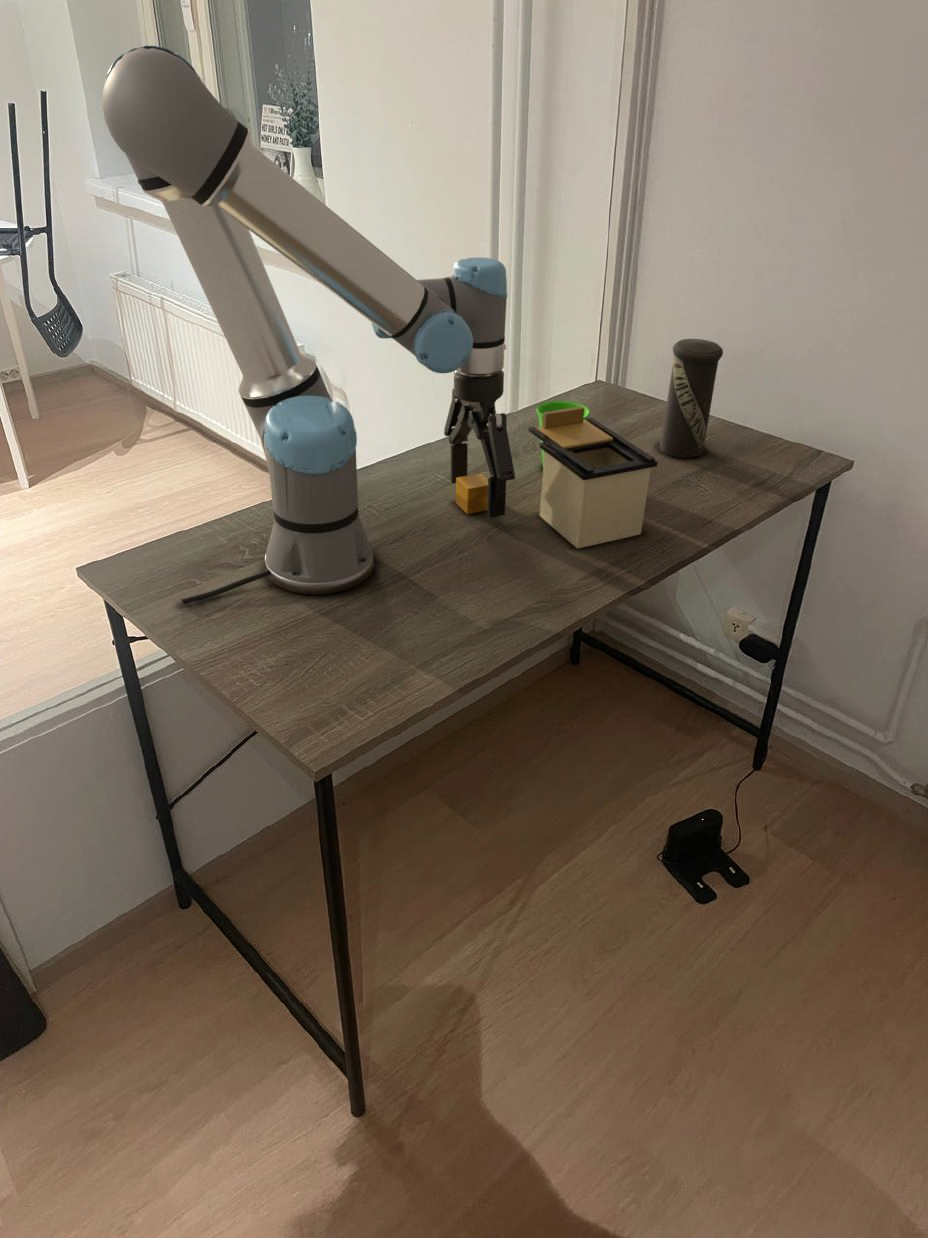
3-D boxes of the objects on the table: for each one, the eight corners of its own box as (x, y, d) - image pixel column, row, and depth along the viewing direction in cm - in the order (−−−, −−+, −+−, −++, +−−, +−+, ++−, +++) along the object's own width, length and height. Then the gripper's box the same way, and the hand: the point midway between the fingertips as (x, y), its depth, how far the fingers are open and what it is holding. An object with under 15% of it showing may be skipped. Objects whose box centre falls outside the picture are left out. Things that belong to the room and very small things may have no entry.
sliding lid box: (575, 551, 136) (584, 471, 129) (520, 502, 149) (525, 427, 142) (646, 535, 141) (658, 457, 134) (586, 489, 154) (594, 416, 147)
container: (654, 455, 167) (671, 346, 156) (660, 437, 174) (676, 332, 163) (702, 462, 165) (722, 352, 154) (706, 443, 172) (726, 337, 161)
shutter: (562, 449, 137) (564, 431, 135) (536, 429, 143) (537, 412, 141) (613, 440, 140) (615, 423, 139) (584, 421, 146) (586, 405, 145)
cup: (585, 481, 157) (592, 420, 151) (533, 479, 157) (537, 419, 151) (581, 459, 164) (587, 401, 158) (531, 458, 164) (535, 399, 158)
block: (467, 514, 145) (468, 488, 143) (455, 502, 149) (456, 477, 146) (492, 509, 147) (493, 484, 145) (480, 497, 150) (480, 472, 148)
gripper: (542, 392, 127) (534, 526, 139) (465, 342, 146) (464, 464, 158) (494, 400, 125) (491, 536, 137) (422, 348, 143) (425, 472, 155)
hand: (476, 498), depth 147 cm, fingers open, 13 cm apart
